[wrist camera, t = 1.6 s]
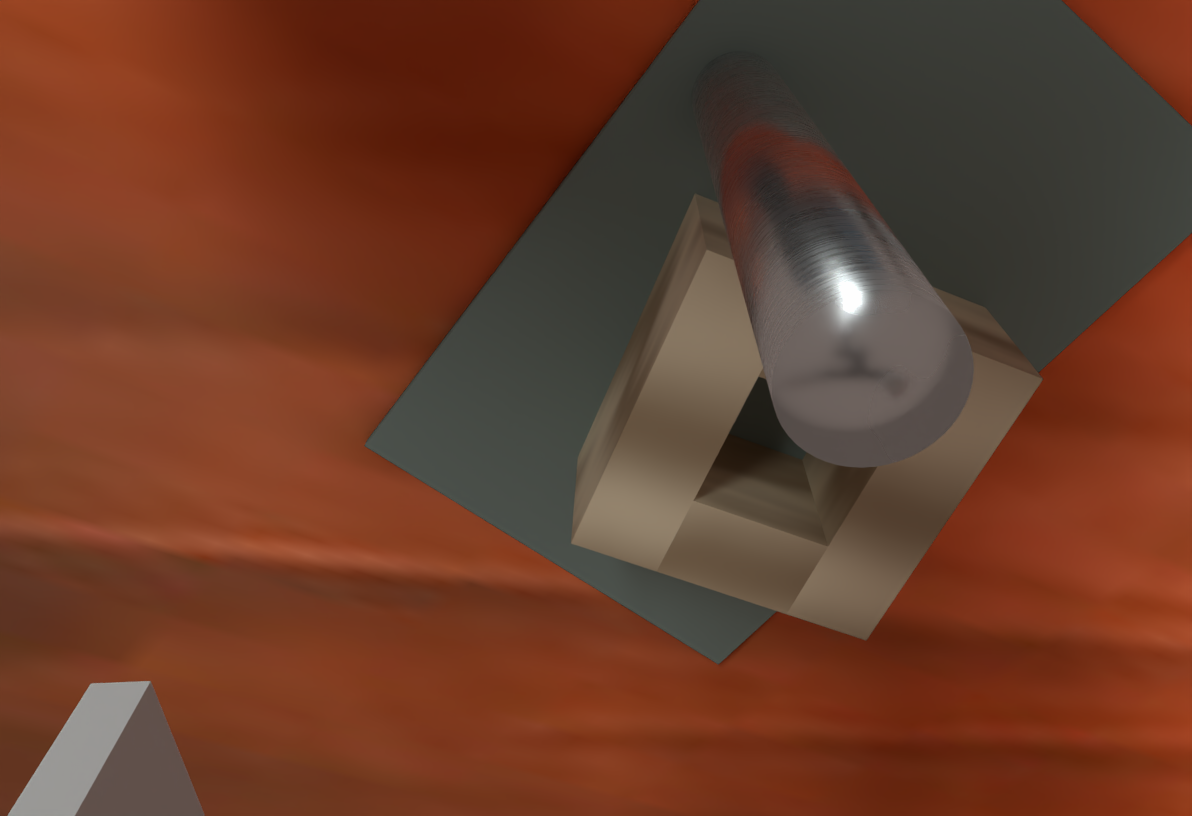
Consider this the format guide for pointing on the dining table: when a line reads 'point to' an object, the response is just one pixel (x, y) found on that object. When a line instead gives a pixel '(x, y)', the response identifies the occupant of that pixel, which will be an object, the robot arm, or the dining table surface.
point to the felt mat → (888, 178)
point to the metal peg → (825, 280)
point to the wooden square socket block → (767, 457)
